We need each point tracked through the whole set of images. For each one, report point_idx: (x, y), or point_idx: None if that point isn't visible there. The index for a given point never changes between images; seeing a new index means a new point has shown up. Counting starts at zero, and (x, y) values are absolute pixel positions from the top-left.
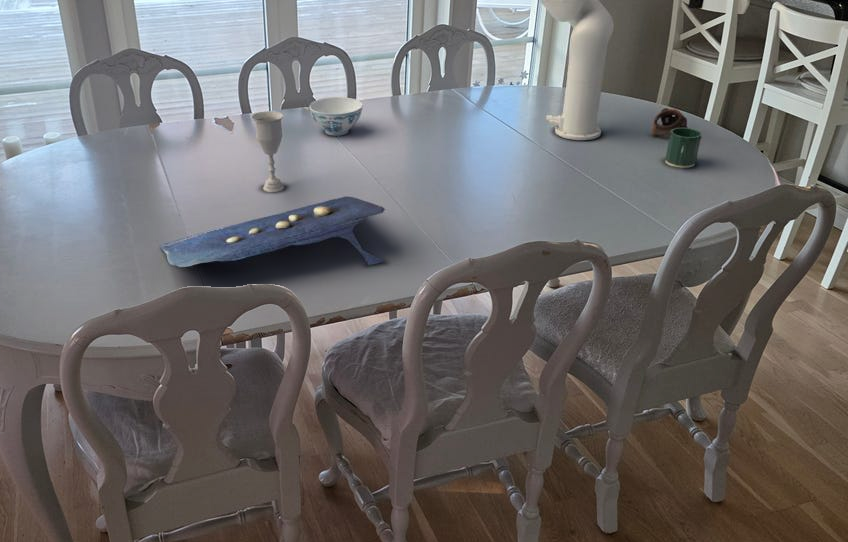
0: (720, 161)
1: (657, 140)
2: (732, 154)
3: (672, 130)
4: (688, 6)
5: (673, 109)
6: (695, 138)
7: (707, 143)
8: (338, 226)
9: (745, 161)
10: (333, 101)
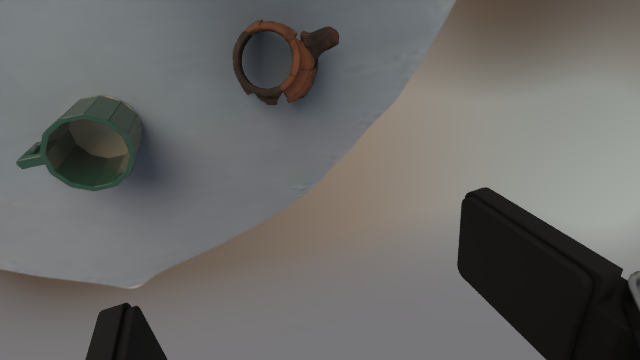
0: (177, 191)
1: (230, 43)
2: (231, 197)
3: (78, 118)
4: (99, 315)
5: (296, 67)
6: (67, 183)
7: (269, 144)
8: None
9: (207, 224)
10: None
